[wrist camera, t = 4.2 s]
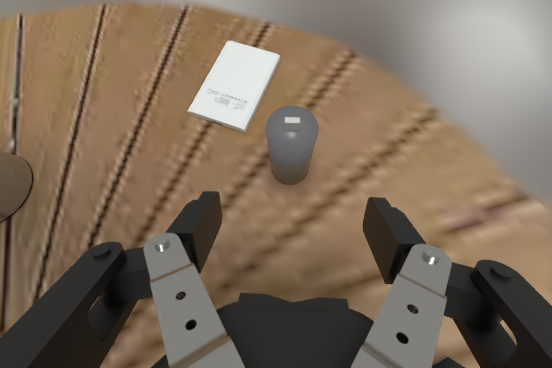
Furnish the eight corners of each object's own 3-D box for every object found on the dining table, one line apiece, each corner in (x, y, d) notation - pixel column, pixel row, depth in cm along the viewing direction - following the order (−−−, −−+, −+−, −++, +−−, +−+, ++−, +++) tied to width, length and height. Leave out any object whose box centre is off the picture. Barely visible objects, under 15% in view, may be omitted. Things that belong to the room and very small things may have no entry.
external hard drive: (280, 63, 34) (246, 135, 30) (229, 49, 35) (190, 116, 32) (280, 54, 32) (244, 129, 29) (226, 39, 33) (186, 109, 30)
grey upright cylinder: (270, 184, 28) (263, 144, 18) (272, 150, 29) (266, 96, 19) (307, 185, 27) (320, 145, 18) (307, 151, 29) (320, 97, 19)
